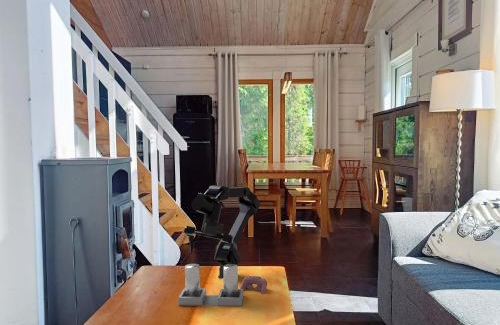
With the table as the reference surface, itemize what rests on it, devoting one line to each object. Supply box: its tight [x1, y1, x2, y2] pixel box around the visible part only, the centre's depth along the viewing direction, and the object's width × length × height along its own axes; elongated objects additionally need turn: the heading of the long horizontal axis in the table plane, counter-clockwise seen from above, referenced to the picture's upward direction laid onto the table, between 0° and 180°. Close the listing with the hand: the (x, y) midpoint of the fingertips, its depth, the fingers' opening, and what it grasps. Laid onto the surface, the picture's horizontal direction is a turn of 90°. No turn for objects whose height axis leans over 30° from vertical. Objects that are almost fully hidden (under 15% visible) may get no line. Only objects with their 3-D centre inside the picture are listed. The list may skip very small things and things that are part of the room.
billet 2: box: [222, 264, 239, 297], centre depth 124 cm, size 5×5×12 cm
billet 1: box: [184, 263, 201, 297], centre depth 125 cm, size 5×5×12 cm
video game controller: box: [239, 275, 268, 295], centre depth 134 cm, size 10×5×7 cm, turn 71°
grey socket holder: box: [177, 287, 245, 307], centre depth 125 cm, size 22×9×4 cm, turn 87°
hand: (203, 257), depth 135 cm, fingers open, 9 cm apart
